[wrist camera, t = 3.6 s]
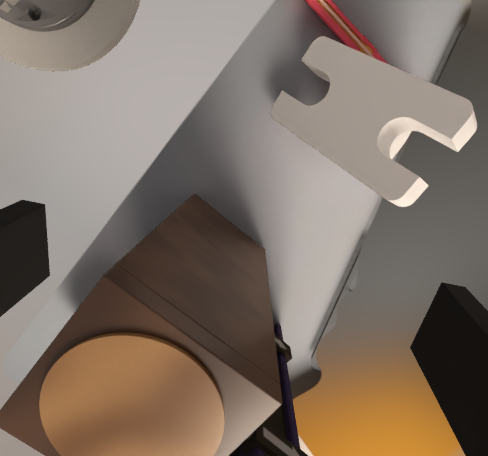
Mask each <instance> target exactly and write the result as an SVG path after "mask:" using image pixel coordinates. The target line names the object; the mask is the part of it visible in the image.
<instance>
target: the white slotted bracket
mask: <svg viewBox="0 0 488 456" xmlns="http://www.w3.org/2000/svg"><path fill="white" fill-rule="evenodd" d="M302 61H303V62H304V63H305V64H306V65H307V66H308V67H309V68H310V69H311V70H312V71H313V72H314V73H315V74H316V75H317V76H318V77H320V78H322V79H324V80H326V81H328V82H330V87H329V91H328V93H327V95H326V96H325V97H324V99H323V100H321V101H320V102H319V103H317V104H315V105H311V106H309V105H305V104H303V103H301V102H300V101H298V100H296V99H295V98H293V97H292V96H290V95H288V94H287V93H285V92H284V91H282V92H281V93H280V95H279V97H278V98H277V100H276V101H275V103H274V105H273V106H272V109H271V116H272V118H273V119H274V120H276V121H277V122H278V123H280V124H281V125H283V126H284V127H285V128H287V129H288V130H290V131H291V132H292V133H294V134H295V135H297V136H298V137H299V138H301V139H302V140H304V141H305V142H306V143H308V144H309V145H311V146H312V147H313V148H315V149H316V150H318V151H319V152H320V153H322V154H323V155H325V156H326V157H327V158H329V159H330V160H331V161H333V162H334V163H336V164H337V165H338V166H340V167H341V168H343V169H344V170H345V171H347V172H348V173H350V174H351V175H352V176H354V177H355V178H357V179H358V180H359V181H361V182H362V183H364V184H365V185H366V186H368V187H369V188H371V189H372V190H373V191H375V192H376V193H377V194H379V195H380V196H382V197H383V198H385V199H386V200H388V201H390V202H392V203H394V204H395V205H397V206H400V207H406V206H409V205H411V204H413V203H414V202H415V201H416V200H417V198H418V197H419V196H420V195H421V194H422V193H423V192H424V190H425V189H426V188H427V187H428V185H427V184H426V183H425V182H424V181H423V180H422V179H421V178H420V177H419V176H417V175H416V174H414V173H412V172H411V171H409V170H408V169H406V168H405V167H403V166H401V165H400V164H398V163H397V162H395V161H393V160H392V158H393V157H394V156H395V155H396V154H397V152H398V151H399V150H400V149H401V147H402V146H403V144H404V143H405V142H406V140H407V138H408V137H409V135H410V133H411V132H412V131H419V132H421V133H424V134H426V135H428V136H429V137H431V138H433V139H435V140H437V141H438V142H440V143H442V144H444V145H446V146H448V147H449V148H451V149H453V150H455V151H457V152H458V151H459V150H460V149H461V148H462V147H463V146H464V144H465V143H466V142H467V141H468V140H469V139H470V137H471V136H472V135H473V134H474V133H475V131H476V128H477V122H476V118H475V114H474V110H473V106H472V104H471V102H470V101H469V100H468V99H466V98H463V97H461V96H459V95H456V94H454V93H452V92H450V91H448V90H445V89H443V88H441V87H439V86H436V85H434V84H432V83H429V82H427V81H425V80H423V79H420V78H418V77H416V76H414V75H411V74H409V73H407V72H405V71H402V70H400V69H398V68H396V67H393V66H391V65H389V64H386V63H384V62H382V61H380V60H377V59H375V58H373V57H371V56H368V55H366V54H364V53H362V52H359V51H357V50H355V49H352V48H350V47H348V46H346V45H343V44H341V43H339V42H337V41H334V40H332V39H330V38H328V37H325V36H321V37H318V38H317V39H315V40H314V41H313V42H312V44H311V45H310V47H309V48H308V50H307V52H306V53H305V55H304V56H303V58H302Z"/></svg>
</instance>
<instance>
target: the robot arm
mask: <svg viewBox="0 0 488 456" xmlns="http://www.w3.org/2000/svg"><path fill="white" fill-rule="evenodd" d="M94 1H95V0H0V18H2V19H4V20H6V21H8V22H10V23H12V24H14V25H16V26H19V27H21V28H24V29H27V30H31V31H38V32H49V31H56V30H60V29H63V28H65V27H68V26H70V25H71V24H73V23H75V22H76V21H77V20H79V19H80V18H81V17H82V16H83V15H84V14H85V13H86V12H87V11H88V10H89V9H90V7H91V6H92V4H93V3H94ZM49 276H50V272H49V257H48V242H47V228H46V213H45V204H40V203H35V202H30V201H25V200H21V201H19V202H16V203H14V204H12V205H9V206H7V207H5V208H3V209H0V317H1V316H2V315H3V314H4V313H6V312H7V311H8V310H9V309H10V308H12V307H13V306H14V305H15V304H16V303H17V302H19V301H20V300H21V299H22V298H23V297H25V296H26V295H27V294H28V293H29V292H31V291H32V290H33V289H34V288H35V287H36V286H38V285H39V284H40V283H41V282H43V281H44V280H45V279H46V278H47V277H49ZM410 348H411V350H412V352H413V354H414V356H415V358H416V360H417V362H418V364H419V366H420V368H421V370H422V372H423V373H424V376H425V377H426V379H427V381H428V383H429V385H430V387H431V389H432V391H433V393H434V395H435V397H436V399H437V401H438V403H439V405H440V407H441V409H442V411H443V413H444V414H445V416H446V418H447V420H448V422H449V424H450V426H451V428H452V430H453V432H454V434H455V436H456V438H457V440H458V442H459V444H460V446H461V448H462V450H463V452H464V453H465V455H466V456H488V311H487V310H486V309H485V308H484V307H483V305H482V304H481V303H479V301H478V300H477V299H476V298H475V297H474V296H473V295H472V294H471V293H470V292H469V291H468V290H467V289H466V287H462V286H457V285H452V284H447V283H441V285H440V287H439V289H438V291H437V293H436V295H435V297H434V299H433V301H432V304H431V306H430V308H429V310H428V312H427V314H426V316H425V318H424V320H423V322H422V324H421V326H420V328H419V330H418V333H417V334H416V337H415V339H414V341H413V343H412V345H411V347H410Z"/></svg>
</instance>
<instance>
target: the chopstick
mask: <svg viewBox="0 0 488 456" xmlns="http://www.w3.org/2000/svg"><path fill="white" fill-rule="evenodd" d="M305 1H306V2H307V3H308V5H309V6H310V7H311V8H312V9H313V10H314V11H315V12H316V13H317V15H318V16H319V17H320V18H321V19H322V20H323V21H324V22H325V23H326V24H327V26H328V27H329V28H330V29H331V30H332V31H333V32H334V33H335V34H336V35H337V37H338V38H339V39H340V40H341V41H342V42H343V43H344V44H345V45H346V46H348V47H350V48H352V49H355V50H357V51H359V52H362V53H364V54H366V55H368V56H371V57H373V58H375V59H377V60H380V61H382V62H384V63H386V64H388V63H387V62H386V61H385V60H384V59H383V58H382V57H381V56H380V54H379V53H378V52H377V50H376V48H375V47H374V46H373V45H372V44H371V43H370V42H369V41H368V40H367V38H366V37H365V36H364V35H362V34H361V33H360V32H359V31H358V30H357V28H356V27H355V26H354V25H353V24H352V23H351V22H350V21H349V19H348V18H347V17H346V16H345V15H344V14H343V13H342V12H341V10H340V9H339V8H338V7H337V6H336V5H335V4H334V3H333V1H332V0H305Z"/></svg>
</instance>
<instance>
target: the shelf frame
mask: <svg viewBox="0 0 488 456" xmlns="http://www.w3.org/2000/svg"><path fill="white" fill-rule="evenodd" d="M115 265H118V266H119V267H120V268H122V269H123V270H124V271H126V272H127V273H128V274H130V275H131V276H133V277H134V278H135V279H137V280H138V281H139V282H141V283H142V284H144V285H145V286H146V287H148V288H149V289H150V290H152V291H153V292H154V293H156V294H157V295H159V296H160V297H161V298H163V299H164V300H165V301H167V302H168V303H169V304H171V305H172V306H174V307H175V308H176V309H178V310H179V311H180V312H182V313H183V314H185V315H186V316H187V317H189V318H190V319H191V320H193V321H194V322H195V323H197V324H198V325H200V326H201V327H202V328H204V329H205V330H206V331H208V332H209V333H211V334H212V335H213V336H215V337H216V338H217V339H219V340H220V341H221V342H223V343H224V344H226V345H227V346H228V347H230V348H231V349H232V350H234V351H235V352H237V353H238V354H239V355H241V356H242V357H243V358H245V359H246V360H247V361H249V362H250V363H252V364H253V365H254V366H256V367H257V368H258V369H260V370H261V371H263V372H264V373H265V374H267V375H268V376H269V377H271V378H272V379H273V380H275V381H276V382H278V383H279V384H280V377H279V369H278V360H277V352H276V343H275V334H274V326H273V317H272V308H271V300H270V291H269V282H268V274H267V265H266V256H265V249H263V248H262V247H261V246H260V245H258V244H257V243H256V242H255V241H253V240H252V239H251V238H250V237H248V236H247V235H246V234H245V233H243V232H242V231H241V230H240V229H238V228H237V227H236V226H235V225H233V224H232V223H231V222H230V221H228V220H227V219H226V218H225V217H223V216H222V215H221V214H220V213H218V212H217V211H216V210H215V209H213V208H212V207H211V206H210V205H208V204H207V203H206V202H205V201H203V200H202V199H201V198H200V197H198V196H197V195H196V194H193V195H192V196H191V197H190V198H189V199H188V200H187V201H186V202H184V203H183V204H182V205H181V206H180V207H179V208H178V209H177V210H175V211H174V212H173V213H172V214H171V215H170V216H169V217H168V218H167V219H165V220H164V221H163V222H162V223H161V224H160V225H159V226H158V227H156V228H155V229H154V230H153V231H152V232H151V233H150V234H149V235H148V236H146V237H145V238H144V239H143V240H142V241H141V242H140V243H139V244H138V245H136V246H135V247H134V248H133V249H132V250H131V251H130V252H129V253H127V254H126V255H125V256H124V257H123V258H122V259H121V260H120V261H119V262H117V263H116V264H115Z"/></svg>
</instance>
